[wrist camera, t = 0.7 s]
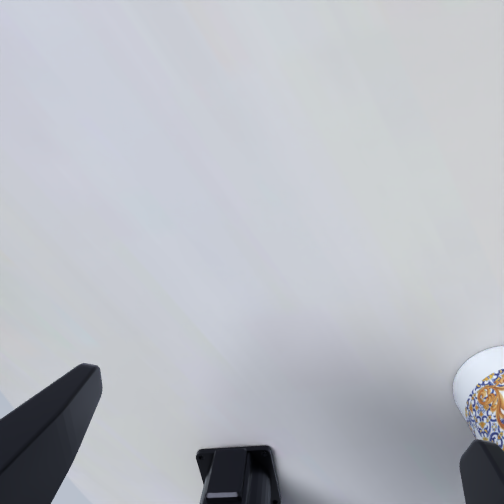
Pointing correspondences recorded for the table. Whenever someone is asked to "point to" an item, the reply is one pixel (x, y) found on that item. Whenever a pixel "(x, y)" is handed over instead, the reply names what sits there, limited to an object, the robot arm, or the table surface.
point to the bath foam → (482, 394)
